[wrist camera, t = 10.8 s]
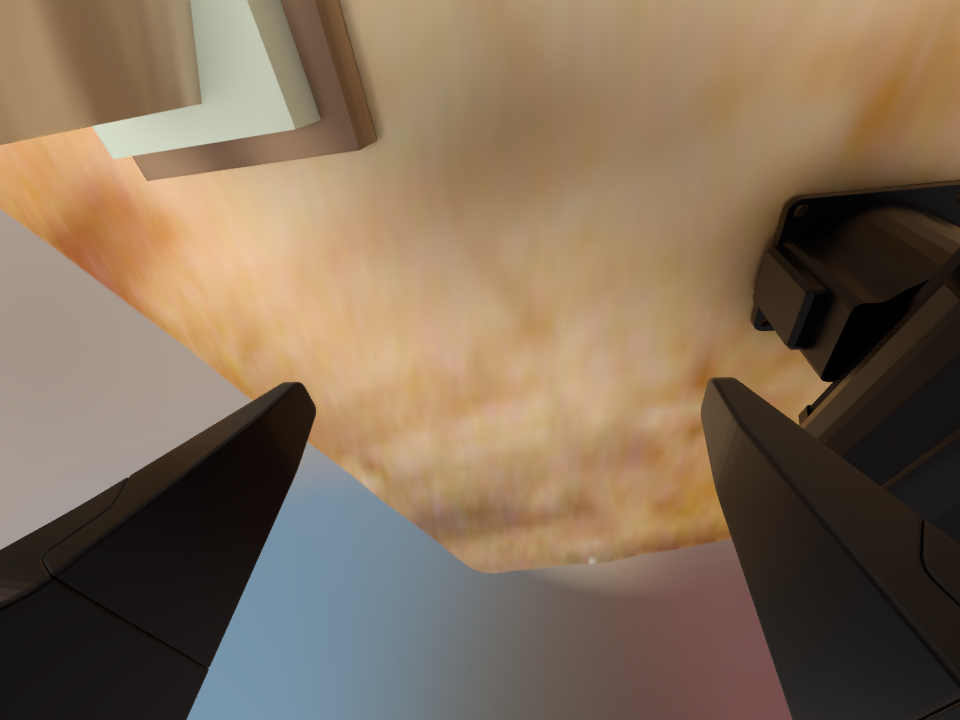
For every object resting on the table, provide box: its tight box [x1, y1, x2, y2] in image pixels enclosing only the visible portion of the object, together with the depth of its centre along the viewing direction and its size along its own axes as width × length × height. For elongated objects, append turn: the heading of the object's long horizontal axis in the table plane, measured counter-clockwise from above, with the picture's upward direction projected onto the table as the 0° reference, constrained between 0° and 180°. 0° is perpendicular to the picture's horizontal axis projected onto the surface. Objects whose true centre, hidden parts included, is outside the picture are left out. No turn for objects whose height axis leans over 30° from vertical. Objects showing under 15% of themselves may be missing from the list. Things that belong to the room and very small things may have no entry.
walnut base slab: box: [132, 0, 377, 181], centre depth 15 cm, size 11×11×2 cm
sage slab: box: [92, 0, 321, 159], centre depth 14 cm, size 8×8×2 cm
